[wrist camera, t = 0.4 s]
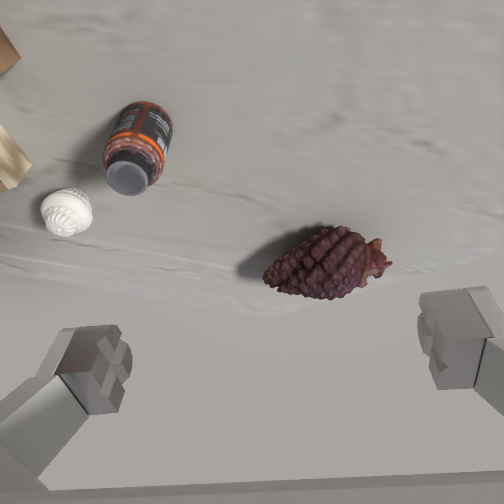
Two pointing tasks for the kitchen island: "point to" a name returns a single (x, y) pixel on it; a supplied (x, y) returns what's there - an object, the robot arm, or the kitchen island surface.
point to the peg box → (11, 162)
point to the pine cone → (327, 265)
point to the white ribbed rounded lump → (67, 212)
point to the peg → (7, 53)
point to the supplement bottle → (137, 148)
